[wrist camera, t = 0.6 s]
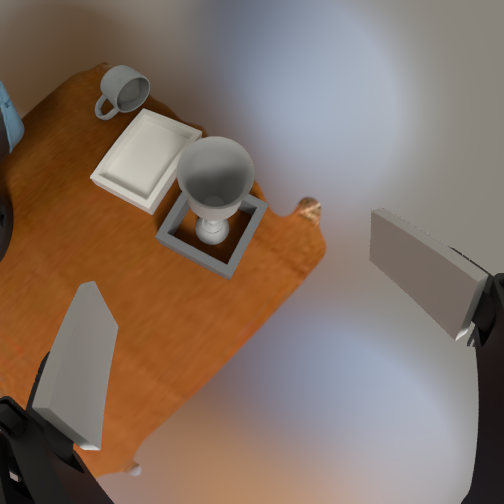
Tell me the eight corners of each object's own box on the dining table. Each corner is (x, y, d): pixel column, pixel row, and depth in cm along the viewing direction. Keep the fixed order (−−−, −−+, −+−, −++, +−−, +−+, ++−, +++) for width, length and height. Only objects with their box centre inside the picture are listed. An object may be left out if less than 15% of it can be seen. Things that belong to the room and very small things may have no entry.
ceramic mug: (132, 80, 44) (125, 54, 36) (154, 97, 43) (148, 69, 36) (90, 111, 41) (77, 87, 34) (109, 130, 41) (96, 105, 34)
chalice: (186, 208, 40) (173, 141, 23) (230, 201, 42) (246, 132, 24) (193, 255, 39) (181, 215, 22) (239, 248, 40) (262, 203, 23)
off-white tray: (95, 184, 39) (89, 177, 36) (145, 117, 42) (143, 108, 40) (152, 215, 39) (148, 208, 37) (201, 141, 43) (201, 131, 40)
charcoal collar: (160, 243, 39) (154, 236, 35) (197, 180, 41) (197, 168, 38) (229, 280, 39) (231, 277, 35) (263, 213, 42) (268, 204, 38)
